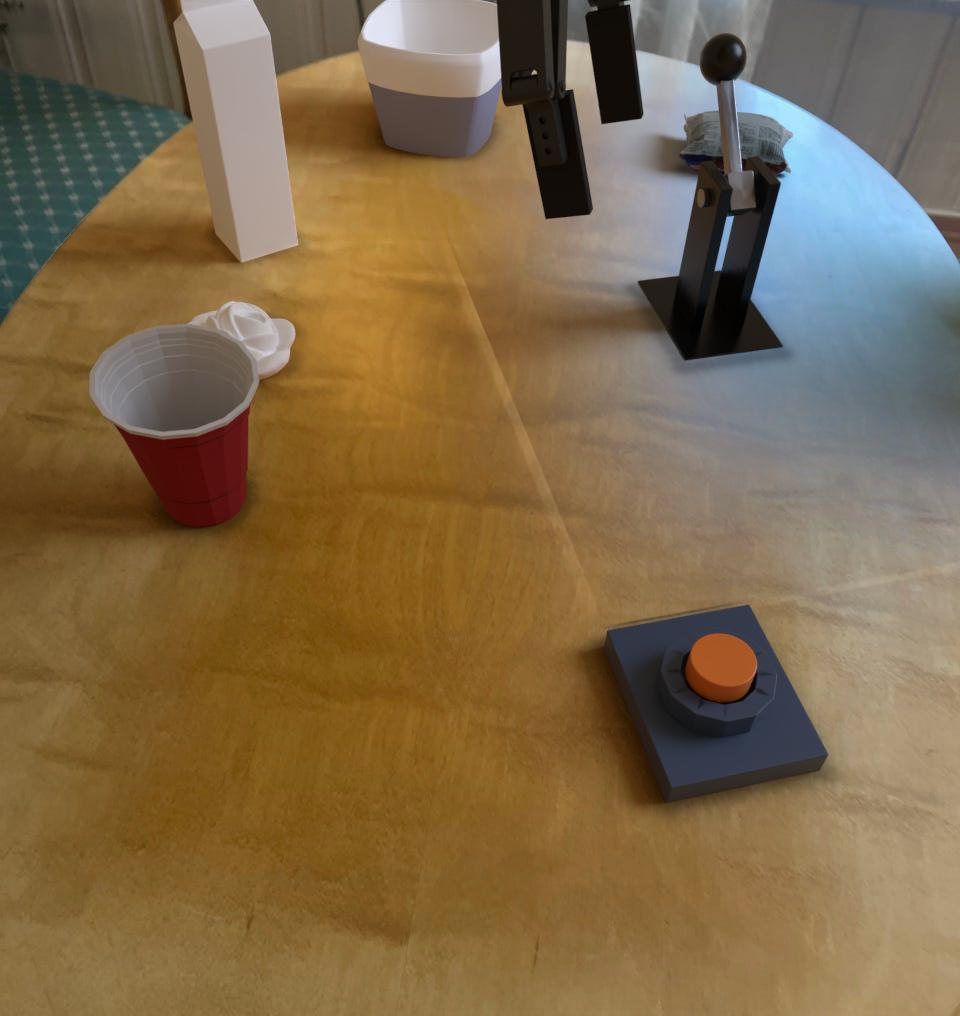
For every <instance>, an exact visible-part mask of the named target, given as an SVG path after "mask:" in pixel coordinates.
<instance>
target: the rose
mask: <svg viewBox="0 0 960 1016" xmlns="http://www.w3.org/2000/svg"><path fill="white" fill-rule="evenodd" d="M186 324H192V325H197V326H203V327H208V328H214V329H218V330H220V331H222V332H224V333H226V334H228V335H229V336H231V337H233V338H235V339H237V340H239V341H241V342H242V343H243V344H244V345H245V347H246V348H247V349H248V350H249V352H250V353H251V354H252V355H253V356H254V358H255V359H256V361H257V368H258V375H259V381H263V380H265V379H268V378H270V377H272V376H275V375H276V374H278V373H279V372H280V371H281V370H282V369H283V368H285V366H286V365H287V364H288V362H289V361H290V359H291V358H290V355H291V347H292V346H293V344H294V342H295V340H296V329H295V325H294V324H293V323H292V322H290V320H288V319H285V318H282V317H281V318H272V317H270V316H269V315H268V313H267V312H265V310H264V309H262V308H261V307H259V306H257V305H255V304H253V303H250V302H242V301H232V300H231V301H227V302H225V303H224V304H221V306H220V307H219V308H218V309H217V310H210V311H206V312H203V313H201V314H198V315H196V316H194V317H193V318H192V319H191V321H189V322H187V323H186Z"/></svg>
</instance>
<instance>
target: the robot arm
mask: <svg viewBox="0 0 960 1016" xmlns="http://www.w3.org/2000/svg"><path fill="white" fill-rule="evenodd" d="M586 1H587V3H588V5H589V7H590V8H596V9H595V10H589V11H587V13H586V14H585V15H584V18H585V25H586V31H587V39H588V46H589V51H590V57H591V63H592V64H591V66H592V71H593V78H594V85H595V92H596V97H597V103H598V104H597V105H598V110H599V111H598V112H599V117H600V124H601V125H608V124H613V123H623V122H629V121H637V120H641V119H642V118H643V117H644V105H643V99H642V98H643V97H642V91H641V90H642V89H641V81H640V74H639V65H638V58H637V50H636V42H635V33H634V23H633V15H632V8H631V4H630V3H629V4H625V2H628V1H630V0H586ZM496 4H497V16H498V33H499V49H500V66H501V83H502V86H501V98H502V102H503V104H504V106H505V107H506V108H508V107H509V108H510V107H515V106H521V105H522V111H523V114H524V119H525V125H526V130H527V134H528V139H529V145H530V149H531V154H532V160H533V165H534V170H535V174H536V179H537V184H538V189H539V194H540V199H541V200H540V201H541V204H542V209H543V214H544V219H545V220H551V219H563V218H569V217H570V218H571V217H582V216H583V217H584V216H590V215H591V214H592V211H593V210H594V206H593V200H592V194H591V188H590V181H589V176H588V170H587V169H588V168H587V165H586V157H585V151H584V146H583V140H582V134H581V133H582V132H581V128H580V123H579V116H578V115H579V114H578V109H577V105H576V97H575V92H574V88H572V89H567V53H568V52H567V49H568V19H569V15H568V14H569V0H496ZM534 71H535V73H533V72H534ZM532 73H533V74H532Z"/></svg>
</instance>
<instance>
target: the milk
mask: <svg viewBox="0 0 960 1016" xmlns="http://www.w3.org/2000/svg"><path fill="white" fill-rule="evenodd" d="M179 2H180V7H181V13H180V15H179V16H178V17H177V18H176V19H175V20H174V21H173V24H172V25H173V28H174V29H173V30H174V33H175V40H176V44H177V50H178V54H179V59H180V63H181V68H182V69H181V70H182V73H183V79H184V84H185V88H186V93H187V98H188V103H189V108H190V114H191V118H192V123H193V128H194V133H195V138H196V143H197V149H198V153H199V159H200V163H201V168H202V173H203V178H204V183H205V187H206V192H207V197H208V203H209V207H210V213H211V217H212V222H213V228H214V233H215V235H216V236H217V237H218V238H219V240H220V241H221V242H222V243H223V244H224V245H225V246H226V248H228V250H229V251H230V253H232V254H233V256H234V257H235V258H236V259H237V260H238V261H239V262H240V263H241V264H242V263H246V262H248V261H253V260H255V259H258V258H261V257H265V256H267V255H271V254H274V253H275V254H276V253H278V252H281V251H284V250H287V249H290V248H291V249H292V248H293V247H297V246H299V240H298V232H297V226H296V217H295V211H294V210H295V209H294V202H293V194H292V188H291V181H290V179H291V178H290V174H289V167H288V166H289V164H288V158H287V150H286V142H285V135H284V128H283V119H282V113H281V105H280V98H279V90H278V84H277V83H278V82H277V75H276V74H277V73H276V68H275V59H274V51H273V45H272V38H271V33H270V30H269V29H268V26H267V25H266V23H265V21H264V19H263V17H262V15H261V13H260V11H259V9H258V7H257V6H256V3H255V2H254V0H179Z"/></svg>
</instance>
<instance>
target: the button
mask: <svg viewBox="0 0 960 1016" xmlns="http://www.w3.org/2000/svg"><path fill="white" fill-rule="evenodd" d="M756 670H757V660H756V656H755V654H754V652H753V651H752V649H751V648H750V647H749V646H748V645H747V644H746V643H745V642H744V641H742V640H740V639H739V638H737V637H734V636H731V635H728V634H720V633H718V634H710V635H706V636H704V637H702V638H700V639H699V640H697V641H696V642H695V643H694V645H693V646H692V648H691V651H690V655H689V658H688V661H687V664H686V668H685V675H686V679H687V682H688V684H689V685H690V687H691V688H692V689H693V690H694V691H695V692H696V693H697V694H698V695H700V696H701V697H703V698H705V699H707V700H710V701H714V702H721V703H726V702H732V701H735V700H738V699H739V698H741V697H743V696H744V695H745V694H746V693H747V691H748V690H749V688H750V686H751V683H752V681H753V678H754V676H755V673H756Z"/></svg>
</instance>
